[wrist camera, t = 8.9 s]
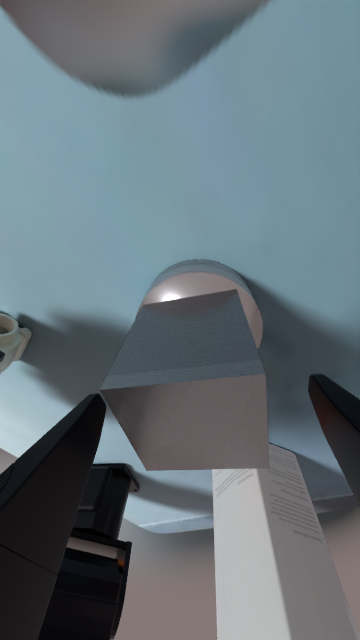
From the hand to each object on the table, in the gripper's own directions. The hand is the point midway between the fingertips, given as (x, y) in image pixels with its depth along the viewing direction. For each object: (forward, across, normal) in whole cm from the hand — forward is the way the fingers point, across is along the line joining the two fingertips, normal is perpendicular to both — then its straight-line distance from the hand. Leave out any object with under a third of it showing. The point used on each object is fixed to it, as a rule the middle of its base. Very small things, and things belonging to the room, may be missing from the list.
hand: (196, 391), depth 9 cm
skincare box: (+7, -2, +20) cm, 21 cm away
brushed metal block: (+4, 0, 0) cm, 4 cm away
